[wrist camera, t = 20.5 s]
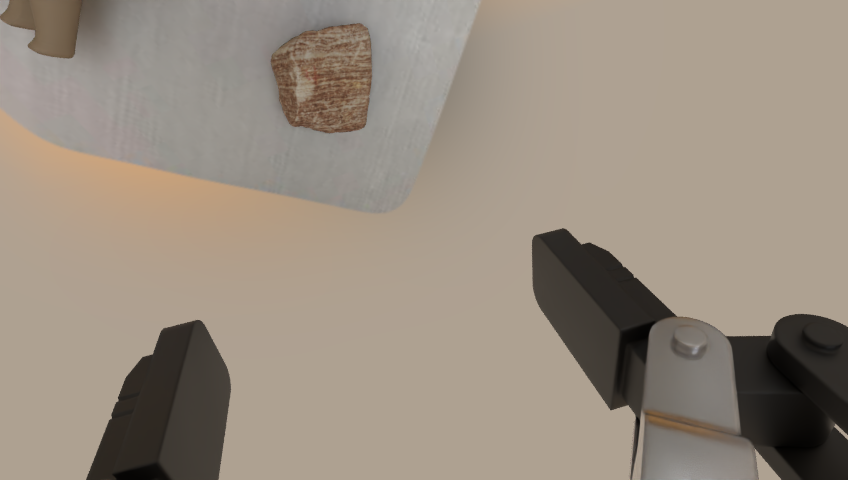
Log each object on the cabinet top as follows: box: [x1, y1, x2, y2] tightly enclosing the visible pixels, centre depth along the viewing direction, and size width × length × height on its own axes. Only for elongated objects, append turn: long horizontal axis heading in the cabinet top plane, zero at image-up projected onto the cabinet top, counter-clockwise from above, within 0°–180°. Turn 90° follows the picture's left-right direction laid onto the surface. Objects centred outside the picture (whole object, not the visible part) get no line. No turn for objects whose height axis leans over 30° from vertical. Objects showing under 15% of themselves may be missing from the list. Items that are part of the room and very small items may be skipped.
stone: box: [271, 23, 372, 133], centre depth 31 cm, size 7×6×5 cm
